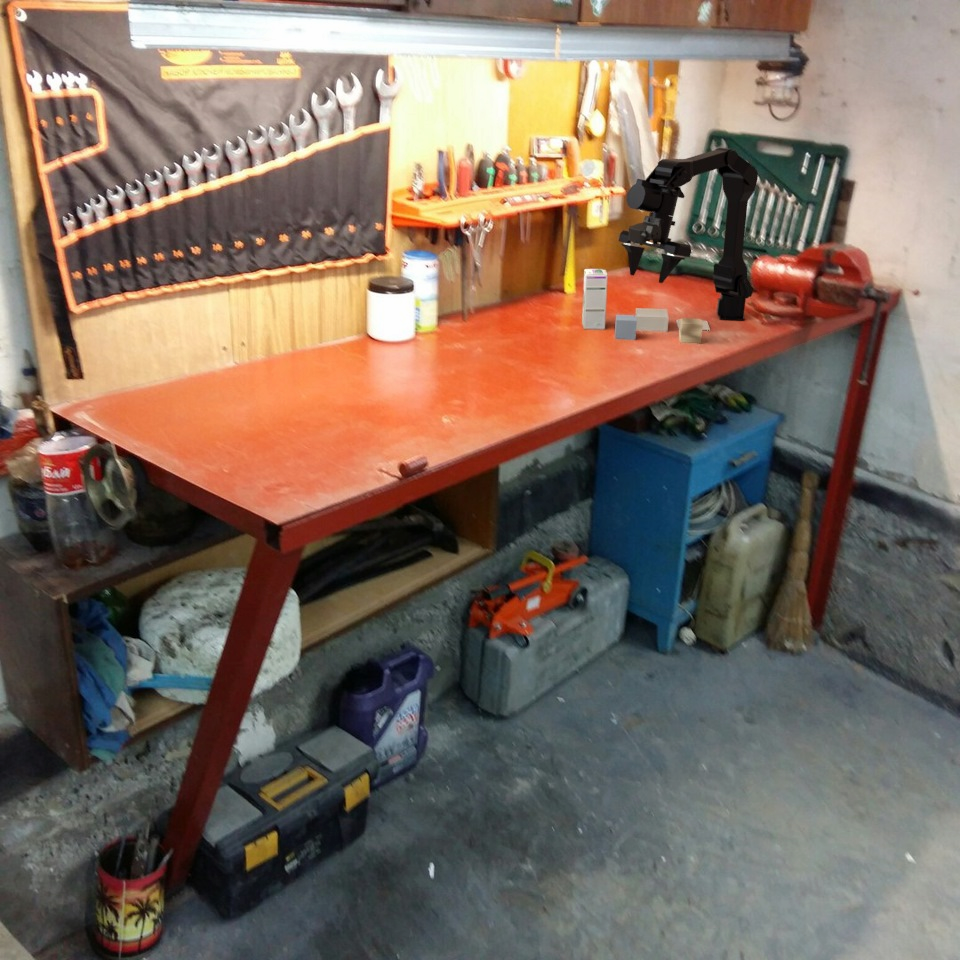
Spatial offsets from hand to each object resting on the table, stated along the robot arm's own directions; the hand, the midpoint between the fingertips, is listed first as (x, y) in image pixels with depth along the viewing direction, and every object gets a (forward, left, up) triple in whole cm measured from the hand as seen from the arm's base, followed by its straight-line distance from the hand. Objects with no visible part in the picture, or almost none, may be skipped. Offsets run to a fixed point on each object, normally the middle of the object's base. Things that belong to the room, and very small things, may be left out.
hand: (646, 279), depth 241 cm
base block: (-3, -11, -15) cm, 19 cm away
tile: (-14, -13, -15) cm, 24 cm away
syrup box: (+12, -9, -15) cm, 21 cm away
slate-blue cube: (+4, -1, -15) cm, 16 cm away
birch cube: (-12, 0, -15) cm, 19 cm away
